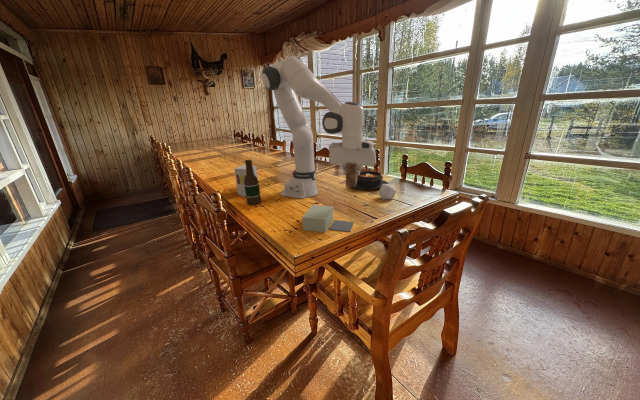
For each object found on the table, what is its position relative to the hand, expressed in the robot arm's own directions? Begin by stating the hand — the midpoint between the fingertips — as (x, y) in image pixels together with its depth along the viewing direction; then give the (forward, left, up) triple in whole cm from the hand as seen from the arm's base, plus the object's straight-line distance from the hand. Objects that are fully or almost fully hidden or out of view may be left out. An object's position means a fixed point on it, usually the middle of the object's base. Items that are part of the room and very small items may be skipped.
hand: (351, 174), depth 113 cm
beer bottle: (-56, +8, -21) cm, 60 cm away
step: (-13, -10, -21) cm, 26 cm away
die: (+15, +28, -21) cm, 38 cm away
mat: (-2, -10, -21) cm, 23 cm away
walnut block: (0, 0, -4) cm, 4 cm away
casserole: (+3, +47, -21) cm, 51 cm away
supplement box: (-67, +21, -21) cm, 73 cm away
